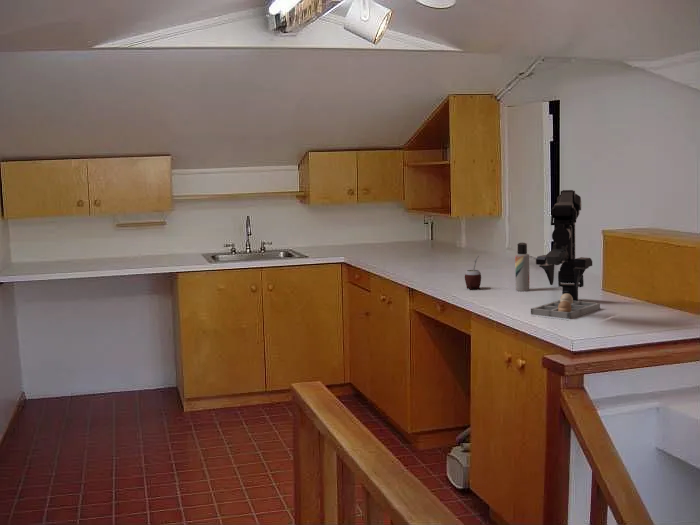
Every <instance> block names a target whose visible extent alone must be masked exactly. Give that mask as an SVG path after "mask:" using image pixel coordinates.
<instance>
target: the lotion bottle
mask: <svg viewBox="0 0 700 525" xmlns="http://www.w3.org/2000/svg"><path fill="white" fill-rule="evenodd" d="M514 257H515V259H514V262H515V271H514V274H515V291H516V292H528V291H530V254H528V243H526V242H518V243H517V252H516V254H515V256H514Z"/></svg>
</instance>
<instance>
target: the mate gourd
mask: <svg viewBox="0 0 700 525" xmlns="http://www.w3.org/2000/svg"><path fill="white" fill-rule="evenodd" d="M479 257H480V255H477V257H475V259H474V261H473V262H474V264H473V268H472V269H469V270H465V274H464V282H465V285H466V288H470V289H469V291H473V290H477V289H480V290H481V282H482V274H481V272H480V270H478V269H476V263H477V260H478V258H479ZM472 289H473V290H472Z"/></svg>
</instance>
